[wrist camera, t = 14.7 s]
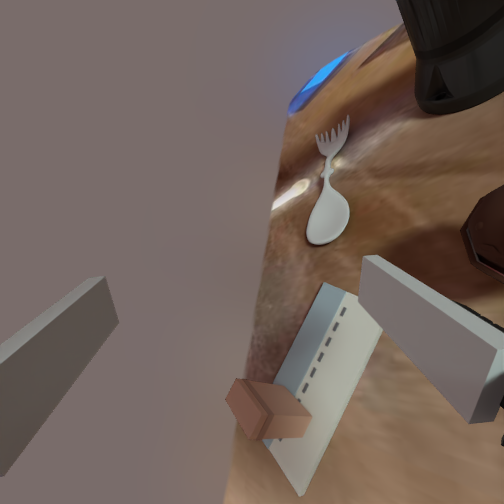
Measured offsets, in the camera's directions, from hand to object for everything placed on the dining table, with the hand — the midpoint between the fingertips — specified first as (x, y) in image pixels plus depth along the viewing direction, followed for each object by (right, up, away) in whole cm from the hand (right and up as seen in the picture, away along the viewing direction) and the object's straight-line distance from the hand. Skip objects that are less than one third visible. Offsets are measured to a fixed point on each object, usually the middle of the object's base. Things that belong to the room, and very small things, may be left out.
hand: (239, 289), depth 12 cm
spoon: (+19, +17, +38) cm, 46 cm away
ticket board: (+11, -16, +23) cm, 30 cm away
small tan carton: (+7, -21, +22) cm, 31 cm away
